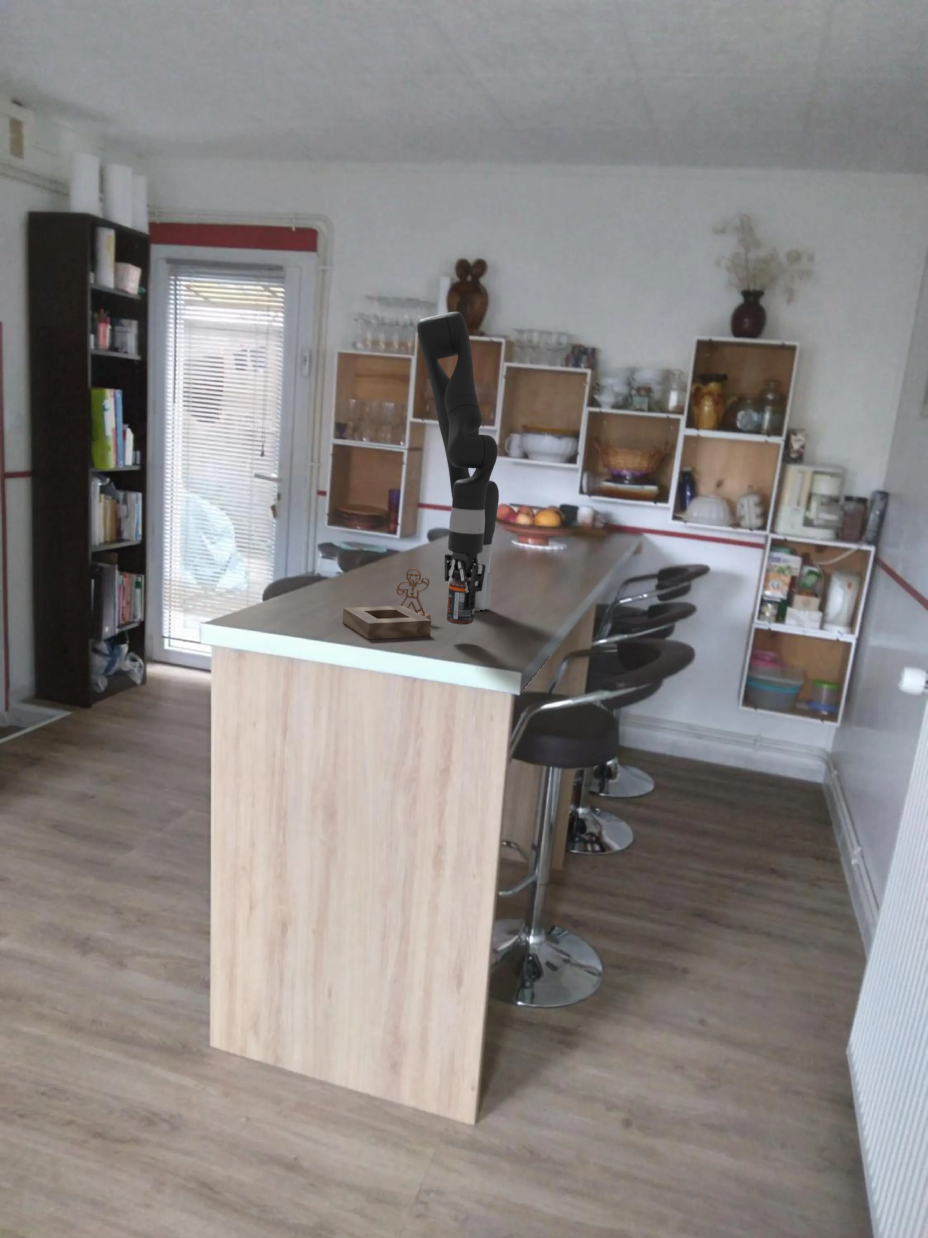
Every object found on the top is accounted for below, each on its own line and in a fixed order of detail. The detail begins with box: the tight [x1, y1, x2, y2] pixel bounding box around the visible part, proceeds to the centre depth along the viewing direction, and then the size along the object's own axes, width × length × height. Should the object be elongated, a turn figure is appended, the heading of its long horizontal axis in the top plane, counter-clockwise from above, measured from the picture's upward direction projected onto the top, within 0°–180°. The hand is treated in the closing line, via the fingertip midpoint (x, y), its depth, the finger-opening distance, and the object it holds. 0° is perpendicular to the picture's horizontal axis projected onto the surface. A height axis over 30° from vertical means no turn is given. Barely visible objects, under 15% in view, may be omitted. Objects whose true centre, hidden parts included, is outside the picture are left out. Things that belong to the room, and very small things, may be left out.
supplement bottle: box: [446, 570, 476, 626], centre depth 187 cm, size 6×6×11 cm
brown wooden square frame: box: [342, 605, 432, 640], centre depth 194 cm, size 15×15×4 cm
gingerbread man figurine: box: [396, 567, 431, 620], centre depth 207 cm, size 9×4×12 cm, turn 73°
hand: (461, 605), depth 188 cm, fingers closed on supplement bottle, 6 cm apart
